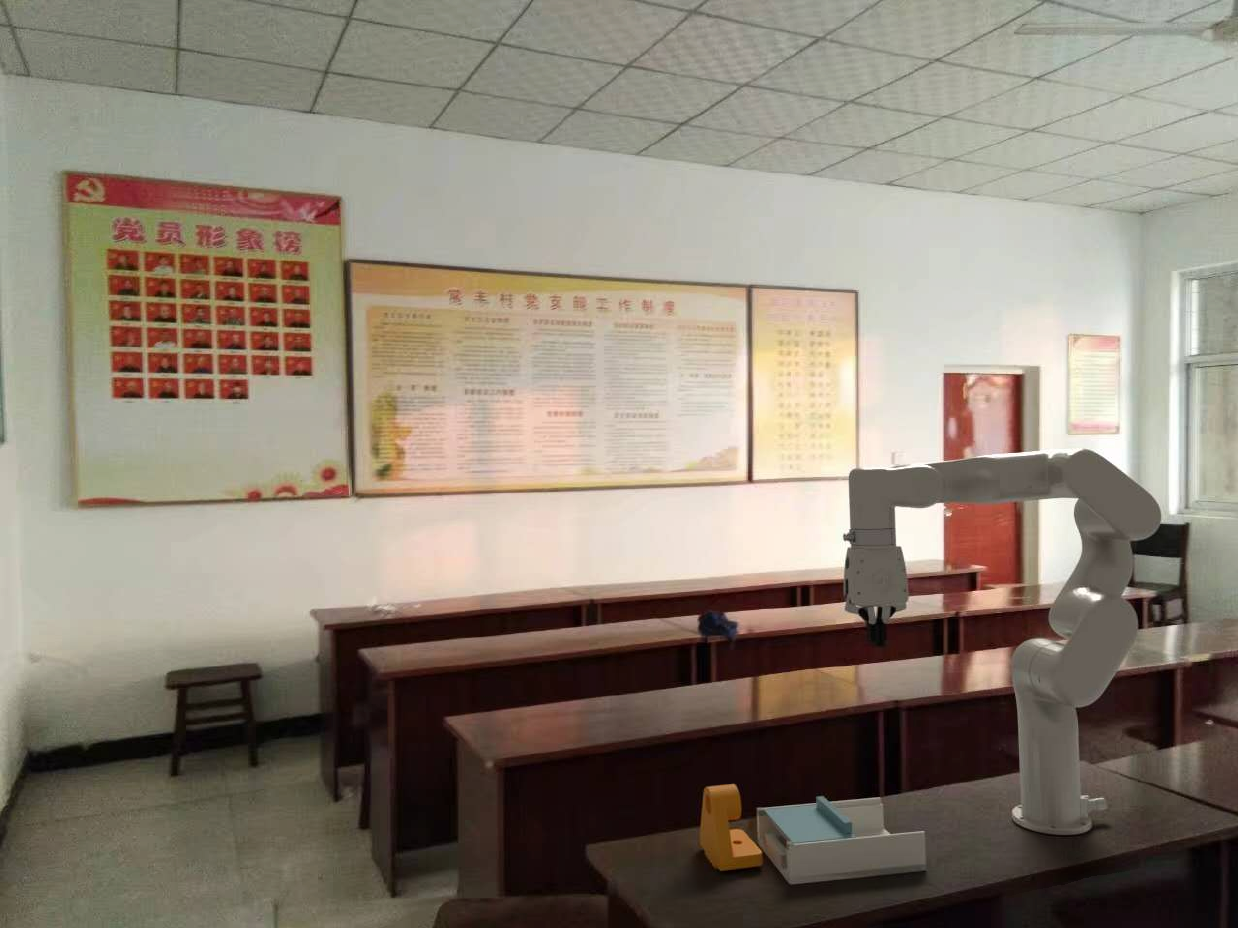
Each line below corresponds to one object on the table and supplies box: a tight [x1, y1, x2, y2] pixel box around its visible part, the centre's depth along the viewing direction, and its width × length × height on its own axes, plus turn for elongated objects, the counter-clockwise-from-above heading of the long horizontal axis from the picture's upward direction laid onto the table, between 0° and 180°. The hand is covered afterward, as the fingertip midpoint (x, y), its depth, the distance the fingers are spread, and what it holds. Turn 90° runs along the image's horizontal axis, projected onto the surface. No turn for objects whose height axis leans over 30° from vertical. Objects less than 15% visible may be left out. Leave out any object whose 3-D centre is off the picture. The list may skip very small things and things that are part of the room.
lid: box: [764, 795, 856, 844], centre depth 149 cm, size 10×14×3 cm
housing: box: [756, 796, 927, 885], centre depth 150 cm, size 22×16×6 cm
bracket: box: [699, 783, 764, 872], centre depth 150 cm, size 11×7×12 cm, turn 12°
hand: (876, 645), depth 159 cm, fingers closed
